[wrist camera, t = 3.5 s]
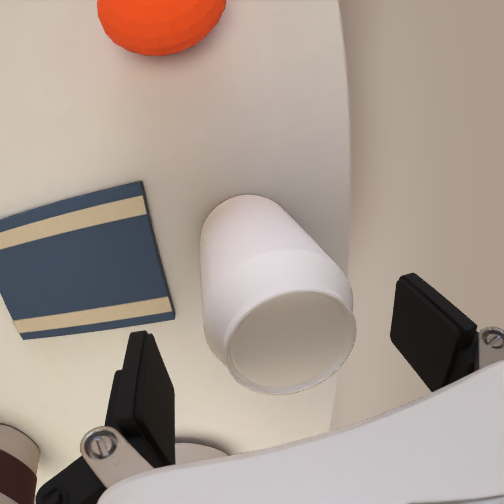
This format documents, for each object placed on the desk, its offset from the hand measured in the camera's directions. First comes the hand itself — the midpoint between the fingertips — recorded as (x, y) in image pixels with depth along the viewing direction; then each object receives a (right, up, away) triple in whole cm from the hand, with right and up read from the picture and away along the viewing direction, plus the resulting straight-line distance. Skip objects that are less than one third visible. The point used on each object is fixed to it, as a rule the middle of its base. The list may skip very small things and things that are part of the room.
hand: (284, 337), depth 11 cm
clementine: (-7, +18, +4) cm, 20 cm away
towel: (-14, +2, +9) cm, 17 cm away
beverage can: (-2, +4, +11) cm, 12 cm away
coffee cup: (-31, -21, +16) cm, 41 cm away
